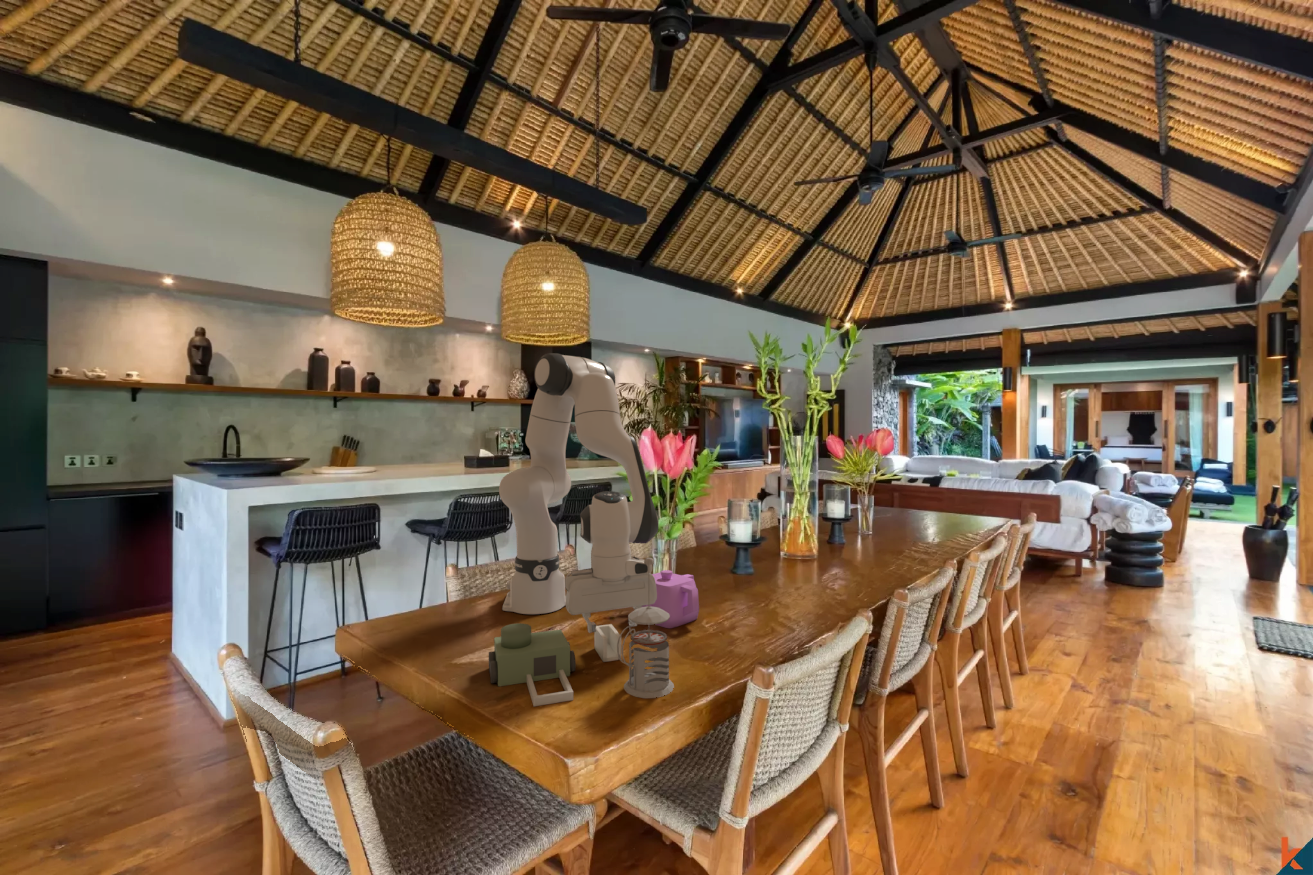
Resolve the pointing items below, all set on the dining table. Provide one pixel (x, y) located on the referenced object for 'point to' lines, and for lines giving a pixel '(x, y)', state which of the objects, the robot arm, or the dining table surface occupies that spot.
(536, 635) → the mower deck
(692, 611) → the teakettle
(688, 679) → the dining table surface
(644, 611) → the french press
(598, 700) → the dining table surface
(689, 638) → the dining table surface
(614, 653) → the slotted cream stand
